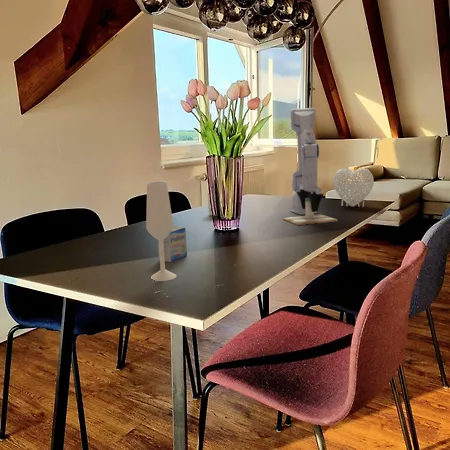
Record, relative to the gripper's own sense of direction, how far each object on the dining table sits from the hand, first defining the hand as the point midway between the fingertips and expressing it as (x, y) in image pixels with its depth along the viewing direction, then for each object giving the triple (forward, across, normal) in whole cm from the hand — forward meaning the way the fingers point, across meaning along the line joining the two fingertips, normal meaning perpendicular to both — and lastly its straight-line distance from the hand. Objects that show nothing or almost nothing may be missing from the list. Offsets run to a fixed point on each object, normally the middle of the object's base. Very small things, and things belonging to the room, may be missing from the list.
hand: (309, 210), depth 177 cm
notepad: (+4, 0, 0) cm, 4 cm away
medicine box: (+4, +30, -61) cm, 68 cm away
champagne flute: (+4, +46, -67) cm, 81 cm away
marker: (+3, 0, 0) cm, 3 cm away
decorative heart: (+4, -18, +32) cm, 37 cm away
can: (+4, -30, -29) cm, 42 cm away
